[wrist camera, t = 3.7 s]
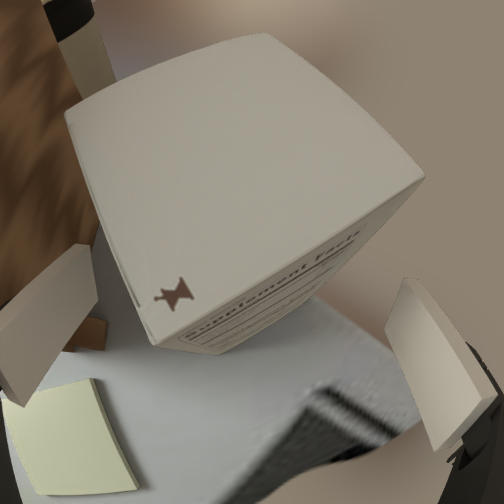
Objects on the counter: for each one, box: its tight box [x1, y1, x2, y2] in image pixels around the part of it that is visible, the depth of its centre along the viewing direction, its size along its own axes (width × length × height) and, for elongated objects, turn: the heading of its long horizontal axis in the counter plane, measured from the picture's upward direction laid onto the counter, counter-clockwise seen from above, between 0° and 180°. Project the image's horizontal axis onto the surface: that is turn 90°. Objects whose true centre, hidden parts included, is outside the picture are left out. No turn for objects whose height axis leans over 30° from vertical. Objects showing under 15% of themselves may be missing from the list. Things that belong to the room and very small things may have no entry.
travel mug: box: [41, 0, 117, 100], centre depth 21 cm, size 8×8×18 cm
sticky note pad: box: [1, 378, 140, 495], centre depth 17 cm, size 10×12×1 cm
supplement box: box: [64, 32, 425, 356], centre depth 16 cm, size 10×9×17 cm
